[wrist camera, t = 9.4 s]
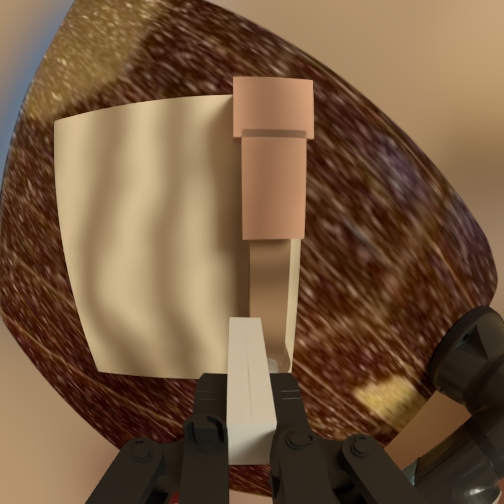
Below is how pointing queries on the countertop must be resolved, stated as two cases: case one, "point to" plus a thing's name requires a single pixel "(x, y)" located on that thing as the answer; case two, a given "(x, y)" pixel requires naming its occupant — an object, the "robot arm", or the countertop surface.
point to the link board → (179, 219)
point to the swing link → (270, 296)
